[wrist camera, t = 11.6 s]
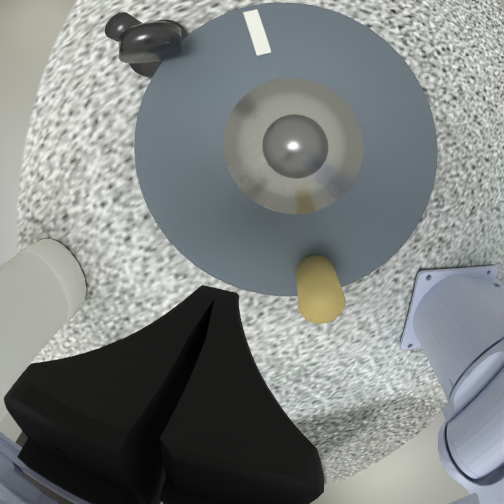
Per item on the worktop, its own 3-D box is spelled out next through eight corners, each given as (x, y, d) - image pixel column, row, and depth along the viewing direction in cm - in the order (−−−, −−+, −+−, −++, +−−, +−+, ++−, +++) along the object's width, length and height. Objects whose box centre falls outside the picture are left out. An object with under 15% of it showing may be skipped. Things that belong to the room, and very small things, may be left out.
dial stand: (203, 14, 14) (168, -30, 8) (205, 68, 16) (168, 39, 9) (132, 32, 14) (78, 5, 8) (133, 84, 16) (74, 71, 10)
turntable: (236, -25, 11) (223, -65, 7) (465, 126, 14) (512, 130, 9) (107, 200, 18) (64, 223, 14) (322, 324, 21) (331, 372, 16)
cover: (270, 66, 13) (268, 49, 10) (371, 130, 14) (393, 130, 11) (211, 164, 15) (194, 172, 12) (309, 222, 16) (316, 243, 13)
